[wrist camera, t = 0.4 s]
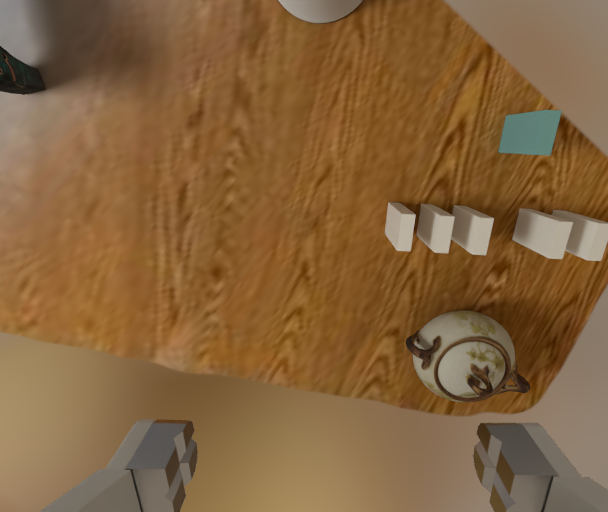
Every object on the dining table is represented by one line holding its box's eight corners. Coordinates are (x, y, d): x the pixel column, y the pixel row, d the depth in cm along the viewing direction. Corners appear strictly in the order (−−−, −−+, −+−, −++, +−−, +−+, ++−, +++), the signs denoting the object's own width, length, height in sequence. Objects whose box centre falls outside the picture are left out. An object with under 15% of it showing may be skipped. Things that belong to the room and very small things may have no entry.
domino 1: (388, 202, 53) (401, 213, 44) (400, 202, 53) (415, 214, 44) (384, 233, 55) (396, 250, 46) (396, 234, 54) (410, 251, 46)
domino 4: (519, 208, 52) (559, 221, 44) (531, 208, 52) (573, 222, 44) (512, 239, 54) (548, 258, 45) (523, 240, 54) (562, 259, 45)
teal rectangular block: (506, 115, 48) (546, 109, 40) (519, 116, 48) (561, 110, 40) (498, 152, 50) (535, 154, 41) (510, 153, 50) (550, 155, 41)
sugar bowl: (377, 351, 61) (395, 414, 47) (413, 278, 57) (445, 324, 43) (477, 384, 63) (524, 455, 49) (520, 316, 58) (586, 372, 44)
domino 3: (453, 205, 53) (479, 217, 44) (465, 205, 53) (494, 218, 44) (448, 236, 54) (472, 254, 46) (459, 237, 54) (485, 255, 46)
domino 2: (421, 203, 53) (440, 215, 44) (432, 204, 53) (454, 216, 44) (416, 235, 54) (434, 252, 46) (427, 235, 54) (448, 253, 46)
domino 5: (553, 209, 52) (598, 223, 44) (565, 210, 52) (613, 224, 44) (544, 241, 54) (587, 260, 45) (556, 242, 54) (600, 260, 45)
